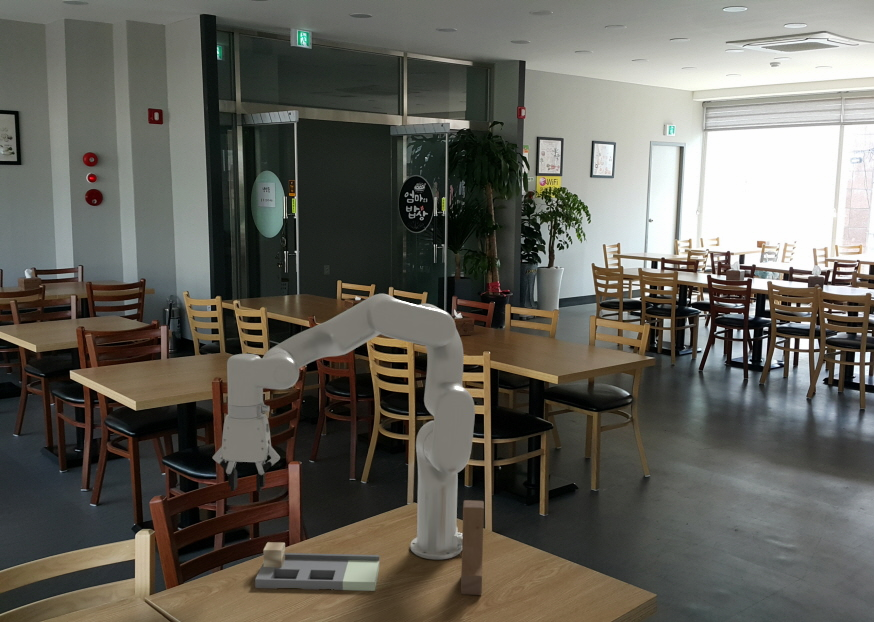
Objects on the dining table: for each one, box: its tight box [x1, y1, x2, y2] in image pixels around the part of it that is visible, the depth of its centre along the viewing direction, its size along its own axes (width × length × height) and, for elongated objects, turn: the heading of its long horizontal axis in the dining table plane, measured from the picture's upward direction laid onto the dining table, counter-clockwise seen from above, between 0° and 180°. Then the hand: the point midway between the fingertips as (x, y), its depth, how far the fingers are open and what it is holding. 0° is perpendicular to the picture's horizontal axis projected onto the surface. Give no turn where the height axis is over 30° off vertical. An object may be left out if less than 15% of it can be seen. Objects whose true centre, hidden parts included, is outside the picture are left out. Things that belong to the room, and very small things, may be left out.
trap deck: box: [254, 552, 380, 592], centre depth 178 cm, size 26×11×3 cm, turn 89°
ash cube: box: [262, 541, 286, 567], centre depth 180 cm, size 4×4×4 cm
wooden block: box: [460, 499, 485, 596], centre depth 175 cm, size 9×4×18 cm, turn 177°
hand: (246, 488), depth 178 cm, fingers open, 5 cm apart
